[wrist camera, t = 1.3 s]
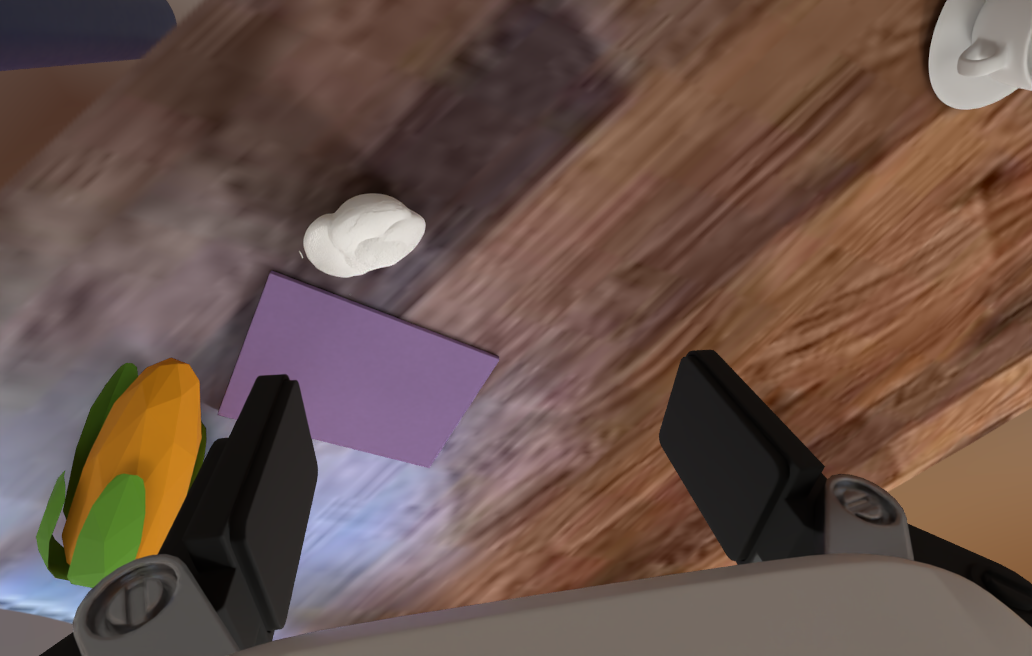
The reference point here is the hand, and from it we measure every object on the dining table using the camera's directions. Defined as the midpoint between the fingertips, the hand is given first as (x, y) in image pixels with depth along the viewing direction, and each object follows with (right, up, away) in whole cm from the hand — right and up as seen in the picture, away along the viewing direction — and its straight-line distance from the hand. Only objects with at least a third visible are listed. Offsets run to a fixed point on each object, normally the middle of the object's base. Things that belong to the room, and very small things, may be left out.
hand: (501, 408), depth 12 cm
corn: (-25, -6, +22) cm, 34 cm away
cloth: (-11, -2, +22) cm, 25 cm away
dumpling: (-9, +8, +17) cm, 20 cm away
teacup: (+30, +21, +17) cm, 40 cm away
